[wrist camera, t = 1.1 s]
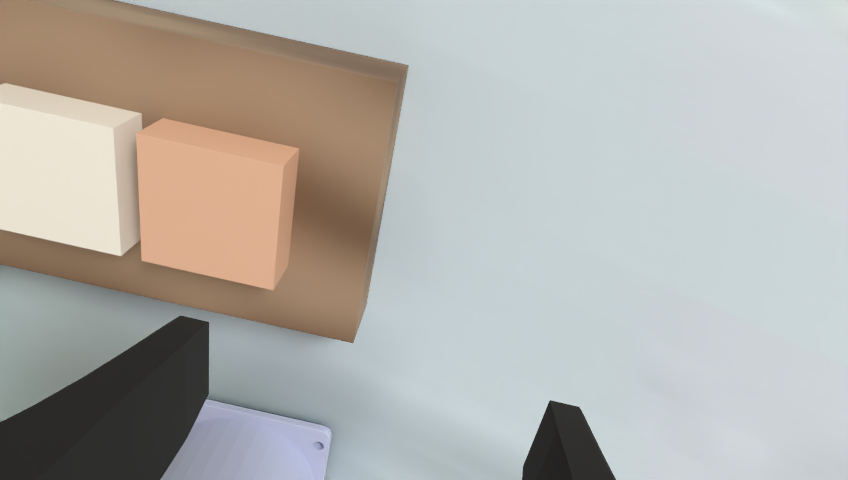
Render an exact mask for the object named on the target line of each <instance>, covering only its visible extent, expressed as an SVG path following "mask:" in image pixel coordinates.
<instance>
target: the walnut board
mask: <svg viewBox="0 0 848 480" xmlns="http://www.w3.org/2000/svg"><path fill="white" fill-rule="evenodd" d="M407 71H408V65H404V64H400V63H395V62H391V61H386V60H381V59H377V58H372V57H368V56H363V55H359V54H354V53H350V52H345V51H341V50H336V49H332V48H327V47H323V46H318V45H314V44H309V43H305V42H300V41H296V40H291V39H287V38H282V37H278V36H273V35H269V34H264V33H259V32H255V31H250V30H246V29H241V28H237V27H232V26H228V25H223V24H219V23H214V22H210V21H205V20H201V19H196V18H192V17H187V16H183V15H178V14H174V13H169V12H165V11H160V10H156V9H151V8H146V7H142V6H137V5H133V4H128V3H124V2H119V1H115V0H0V85H1V84H4V83H7V84H12V85H16V86H21V87H25V88H30V89H34V90H39V91H43V92H48V93H52V94H57V95H61V96H66V97H70V98H75V99H79V100H84V101H88V102H93V103H97V104H102V105H106V106H111V107H115V108H120V109H124V110H129V111H133V112H138V113H142V130H143V129H144V128H146V127H148V126H150V125H151V124H153V123H155V122H157V121H159V120H160V119H162V118H165V119H169V120H174V121H178V122H183V123H187V124H192V125H196V126H201V127H205V128H210V129H214V130H219V131H223V132H228V133H232V134H237V135H241V136H246V137H250V138H254V139H259V140H263V141H268V142H272V143H277V144H281V145H286V146H290V147H295V148H299V158H298V168H297V178H296V189H295V199H294V210H293V220H292V231H291V241H290V251H289V262H288V267H287V269H286V270H285V272H284V274H283V275H282V277H281V279H280V280H279V282H278V283H277V285H276V287H275V288H274V290H270V289H265V288H261V287H256V286H252V285H247V284H243V283H238V282H234V281H229V280H225V279H220V278H216V277H211V276H207V275H203V274H198V273H194V272H189V271H185V270H180V269H176V268H171V267H167V266H162V265H158V264H153V263H149V262H144V261H142V259H141V239H140V240H139V241H138V242H137V243H136V244H135V245H134V246H132V247H131V248H130V249H129V250H128V251H127V252H125V253H124V254H123V255H122V256H118V255H113V254H109V253H104V252H100V251H95V250H91V249H86V248H82V247H77V246H73V245H69V244H64V243H60V242H55V241H51V240H46V239H42V238H37V237H33V236H28V235H24V234H19V233H15V232H11V231H6V230H2V229H0V264H2V265H7V266H11V267H16V268H20V269H25V270H29V271H34V272H38V273H43V274H47V275H52V276H56V277H60V278H65V279H69V280H74V281H78V282H83V283H87V284H92V285H96V286H101V287H105V288H110V289H114V290H118V291H123V292H127V293H132V294H136V295H141V296H145V297H150V298H154V299H159V300H163V301H167V302H172V303H176V304H181V305H185V306H190V307H194V308H199V309H203V310H208V311H212V312H217V313H221V314H225V315H230V316H234V317H239V318H243V319H248V320H252V321H257V322H261V323H266V324H270V325H274V326H279V327H283V328H288V329H292V330H297V331H301V332H306V333H310V334H315V335H319V336H324V337H328V338H332V339H337V340H341V341H346V342H350V343H353V342H354V339H355V336H356V333H357V330H358V328H359V325H360V322H361V319H362V316H363V313H364V310H365V307H366V303H367V297H368V292H369V286H370V280H371V275H372V269H373V263H374V258H375V252H376V246H377V241H378V235H379V229H380V224H381V218H382V212H383V207H384V201H385V196H386V190H387V184H388V179H389V173H390V167H391V162H392V156H393V150H394V145H395V139H396V133H397V128H398V122H399V116H400V111H401V105H402V99H403V94H404V88H405V82H406V77H407Z"/></svg>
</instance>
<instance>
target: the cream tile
mask: <svg viewBox="0 0 848 480" xmlns="http://www.w3.org/2000/svg"><path fill="white" fill-rule="evenodd" d="M141 130H142V113H138V112H133V111H129V110H124V109H120V108H115V107H111V106H106V105H102V104H97V103H93V102H88V101H84V100H79V99H75V98H70V97H66V96H61V95H57V94H52V93H48V92H43V91H39V90H34V89H30V88H25V87H21V86H16V85H12V84H7V83H4V84H1V85H0V229H2V230H6V231H11V232H15V233H19V234H24V235H28V236H33V237H37V238H42V239H46V240H51V241H55V242H60V243H64V244H69V245H73V246H77V247H82V248H86V249H91V250H95V251H100V252H104V253H109V254H113V255H118V256H122V255H123V254H124V253H125V252H127V251H128V250H129V249H130V248H131V247H132V246H134V245H135V244H136V243H137V242H138V241H139V240H140V239H141V236H140V212H139V189H138V166H137V143H136V133H137V132H139V131H141Z"/></svg>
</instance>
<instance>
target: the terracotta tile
mask: <svg viewBox="0 0 848 480" xmlns="http://www.w3.org/2000/svg"><path fill="white" fill-rule="evenodd" d="M136 143H137V166H138V189H139V212H140V236H141V259H142V261H144V262H149V263H153V264H158V265H162V266H167V267H171V268H176V269H180V270H185V271H189V272H194V273H198V274H203V275H207V276H211V277H216V278H220V279H225V280H229V281H234V282H238V283H243V284H247V285H252V286H256V287H261V288H265V289H270V290H274V288H275V287H276V285H277V283H278V282H279V280H280V279H281V277H282V275H283V274H284V272H285V270H286V269H287V267H288V262H289V251H290V241H291V231H292V220H293V210H294V199H295V189H296V178H297V168H298V158H299V148H295V147H290V146H286V145H281V144H277V143H272V142H268V141H263V140H259V139H254V138H250V137H246V136H241V135H237V134H232V133H228V132H223V131H219V130H214V129H210V128H205V127H201V126H196V125H192V124H187V123H183V122H178V121H174V120H169V119H165V118H162V119H160V120H159V121H157V122H155V123H153V124H151V125H150V126H148V127H146V128H144V129H143V130H141V131H139V132H137V133H136Z"/></svg>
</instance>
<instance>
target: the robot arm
mask: <svg viewBox="0 0 848 480" xmlns="http://www.w3.org/2000/svg"><path fill="white" fill-rule="evenodd" d="M208 394H209V322H206V321H202V320H197V319H193V318H188V317H184V316H179V317H177V318H176V319H174V320H173V321H171V322H169V323H168V324H166V325H165V326H163V327H162V328H160V329H158V330H157V331H155V332H154V333H152V334H151V335H149V336H148V337H146V338H145V339H143V340H142V341H140V342H139V343H137V344H136V345H134V346H132V347H131V348H129V349H128V350H126V351H125V352H123V353H122V354H120V355H118V356H117V357H115V358H114V359H112V360H110V361H109V362H107V363H106V364H104V365H102V366H101V367H99V368H97V369H96V370H94V371H93V372H91V373H89V374H88V375H86V376H84V377H83V378H81V379H79V380H78V381H76V382H74V383H72V384H71V385H69V386H67V387H65V388H64V389H62V390H60V391H58V392H57V393H55V394H53V395H51V396H50V397H48V398H46V399H44V400H42V401H41V402H39V403H37V404H35V405H33V406H31V407H30V408H28V409H26V410H24V411H22V412H20V413H18V414H16V415H14V416H12V417H10V418H8V419H6V420H4V421H2V422H0V480H325V474H326V468H327V462H328V456H329V450H330V444H331V438H332V432H331V430H330V429H329V428H327V427H326V426H323V425H319V424H315V423H310V422H306V421H301V420H297V419H293V418H288V417H284V416H279V415H275V414H270V413H266V412H261V411H257V410H253V409H248V408H244V407H239V406H235V405H230V404H226V403H222V402H217V401H213V400H208V399H206V398H207V396H208ZM318 442H320V443H318ZM321 443H322V444H321ZM522 480H616V479H615V477H614V475H613V473H612V471H611V469H610V467H609V465H608V463H607V461H606V459H605V457H604V455H603V454H602V452H601V450H600V448H599V446H598V443H597V441H596V439H595V437H594V435H593V433H592V431H591V429H590V427H589V425H588V423H587V421H586V419H585V417H584V415H583V413H582V411H581V409H580V408H579V407H577V406H572V405H568V404H563V403H559V402H555V401H549V404H548V406H547V409H546V411H545V414H544V416H543V419H542V421H541V424H540V426H539V429H538V431H537V434H536V436H535V438H534V441H533V443H532V446H531V448H530V451H529V453H528V456H527V458H526V461H525V463H524V466H523V477H522Z"/></svg>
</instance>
